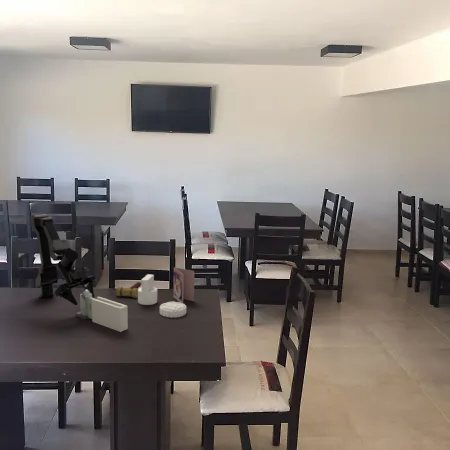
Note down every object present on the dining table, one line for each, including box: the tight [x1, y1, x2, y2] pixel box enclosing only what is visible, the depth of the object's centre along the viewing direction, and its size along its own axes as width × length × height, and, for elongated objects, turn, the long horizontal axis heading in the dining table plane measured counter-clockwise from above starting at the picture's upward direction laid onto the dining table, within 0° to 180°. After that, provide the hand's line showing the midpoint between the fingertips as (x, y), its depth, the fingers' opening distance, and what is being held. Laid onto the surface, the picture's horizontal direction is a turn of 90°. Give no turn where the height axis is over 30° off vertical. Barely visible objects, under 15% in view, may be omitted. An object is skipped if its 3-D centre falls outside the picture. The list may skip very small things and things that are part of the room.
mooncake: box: [159, 301, 187, 319], centre depth 226 cm, size 12×12×4 cm
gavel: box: [115, 281, 141, 299], centre depth 252 cm, size 21×5×10 cm
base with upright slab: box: [137, 273, 158, 306], centre depth 237 cm, size 9×9×12 cm
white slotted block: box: [91, 296, 129, 333], centre depth 209 cm, size 17×4×10 cm, turn 55°
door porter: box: [75, 289, 92, 320], centre depth 217 cm, size 6×5×12 cm
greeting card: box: [172, 267, 195, 304], centre depth 241 cm, size 11×7×15 cm, turn 28°
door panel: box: [88, 297, 107, 320], centre depth 213 cm, size 12×1×9 cm, turn 55°
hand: (85, 301), depth 217 cm, fingers open, 9 cm apart
